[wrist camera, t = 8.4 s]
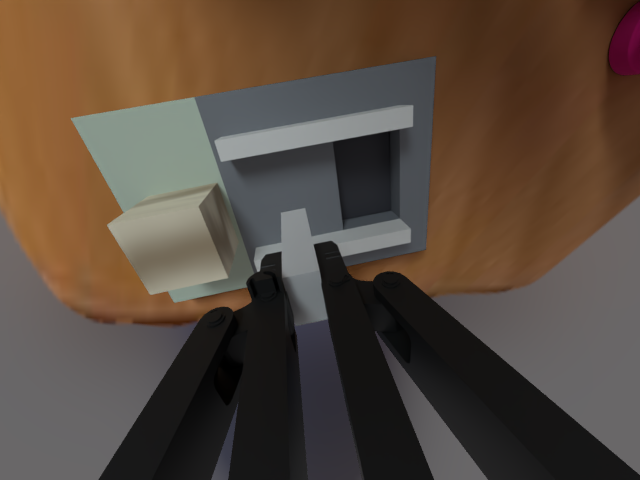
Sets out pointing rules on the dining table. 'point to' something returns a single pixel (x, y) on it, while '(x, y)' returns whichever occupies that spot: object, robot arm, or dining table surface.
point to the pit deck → (287, 160)
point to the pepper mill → (626, 44)
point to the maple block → (178, 238)
